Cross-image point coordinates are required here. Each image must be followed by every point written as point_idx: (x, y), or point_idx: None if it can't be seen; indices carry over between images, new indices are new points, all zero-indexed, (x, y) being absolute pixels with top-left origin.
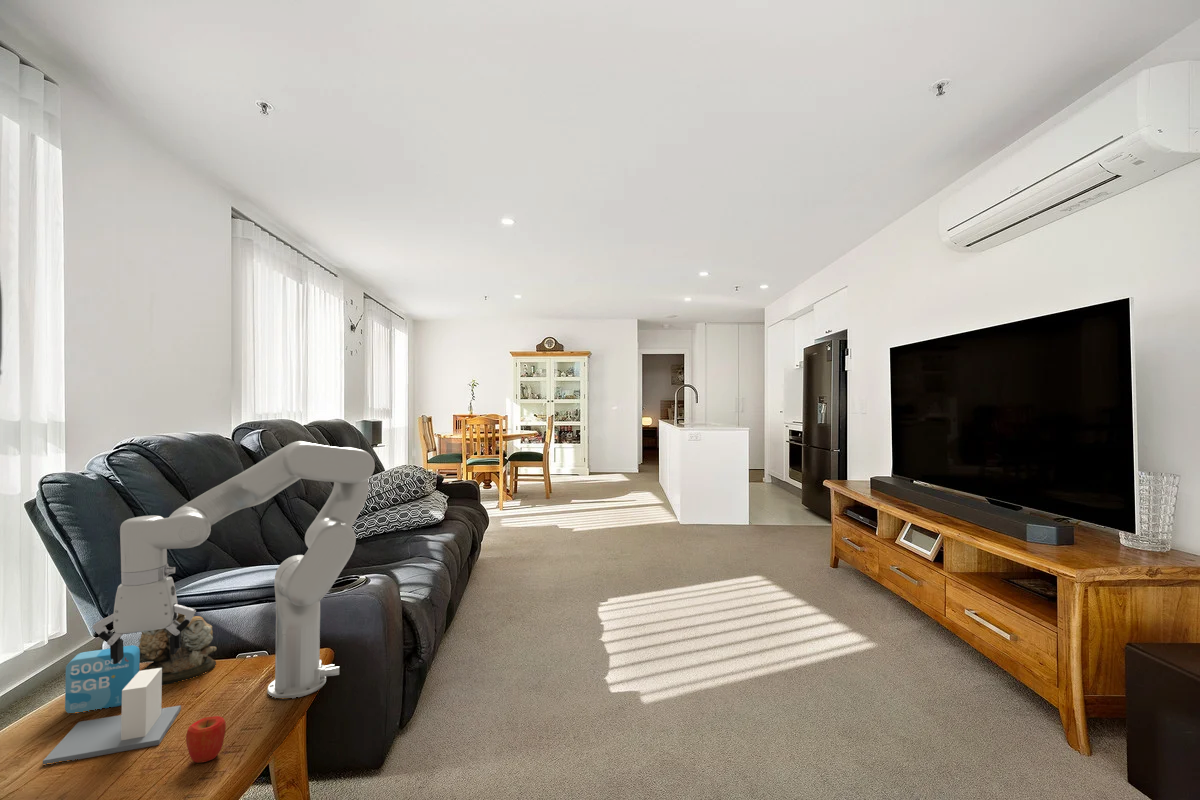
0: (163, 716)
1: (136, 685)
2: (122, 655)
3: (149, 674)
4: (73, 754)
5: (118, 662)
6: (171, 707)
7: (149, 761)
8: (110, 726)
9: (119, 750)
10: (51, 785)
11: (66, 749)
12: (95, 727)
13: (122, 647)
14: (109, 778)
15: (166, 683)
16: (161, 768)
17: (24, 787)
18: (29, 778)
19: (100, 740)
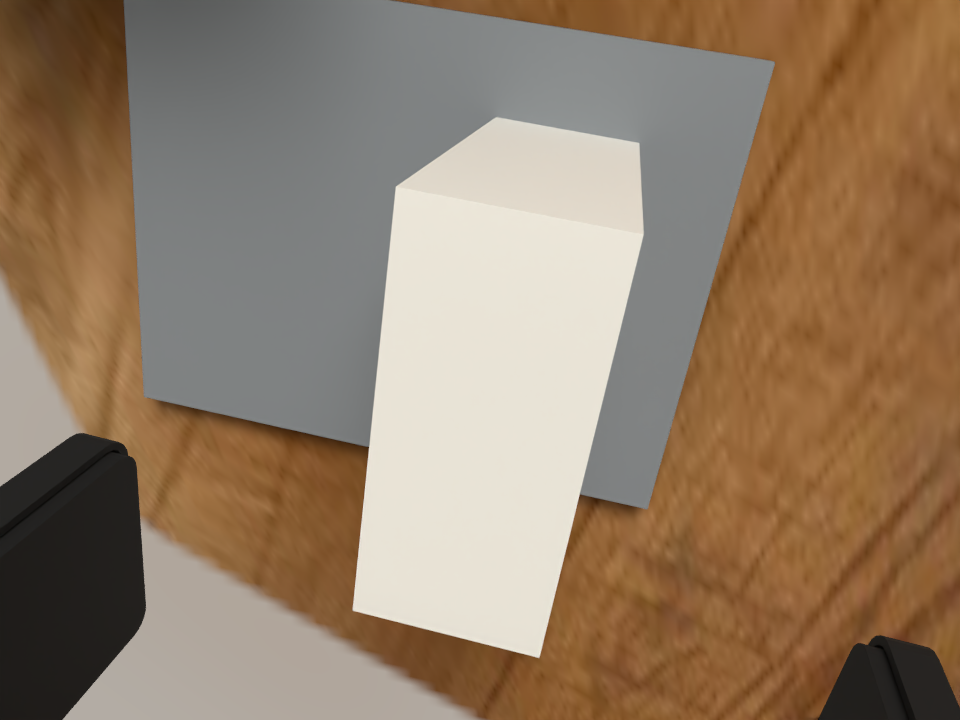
0: (656, 202)
1: (449, 579)
2: (109, 513)
3: (525, 375)
4: (261, 418)
5: (144, 597)
6: (706, 64)
7: (615, 618)
8: (348, 165)
9: None
10: (267, 571)
11: (206, 339)
12: (261, 126)
13: (6, 594)
14: (474, 651)
15: None
16: (669, 701)
17: (170, 526)
18: (155, 464)
19: (344, 333)
